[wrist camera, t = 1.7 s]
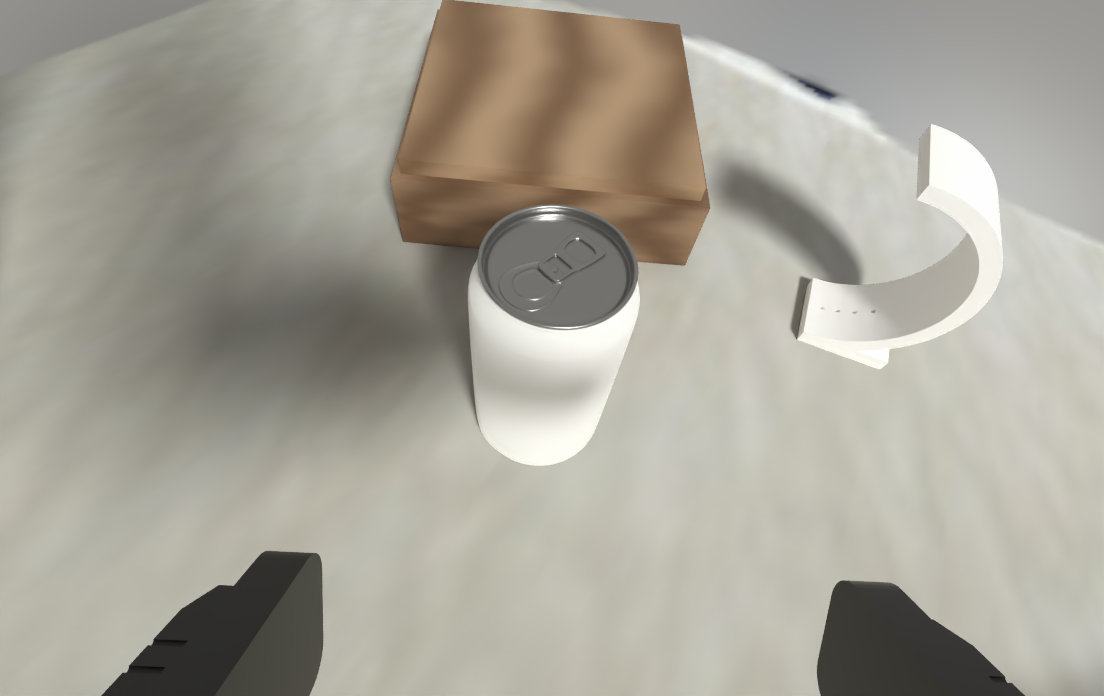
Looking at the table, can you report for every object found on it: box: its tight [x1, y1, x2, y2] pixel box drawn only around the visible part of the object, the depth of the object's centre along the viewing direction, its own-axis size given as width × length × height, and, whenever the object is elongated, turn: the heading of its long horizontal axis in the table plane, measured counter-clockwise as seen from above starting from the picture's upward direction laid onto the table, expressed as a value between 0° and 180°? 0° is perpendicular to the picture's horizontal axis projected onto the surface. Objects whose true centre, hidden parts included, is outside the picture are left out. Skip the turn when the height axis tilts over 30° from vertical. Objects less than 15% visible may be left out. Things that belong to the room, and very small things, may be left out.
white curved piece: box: [797, 124, 1003, 370], centre depth 29 cm, size 5×6×12 cm
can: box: [468, 204, 640, 466], centre depth 24 cm, size 6×6×12 cm
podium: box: [390, 0, 710, 265], centre depth 37 cm, size 18×18×6 cm
